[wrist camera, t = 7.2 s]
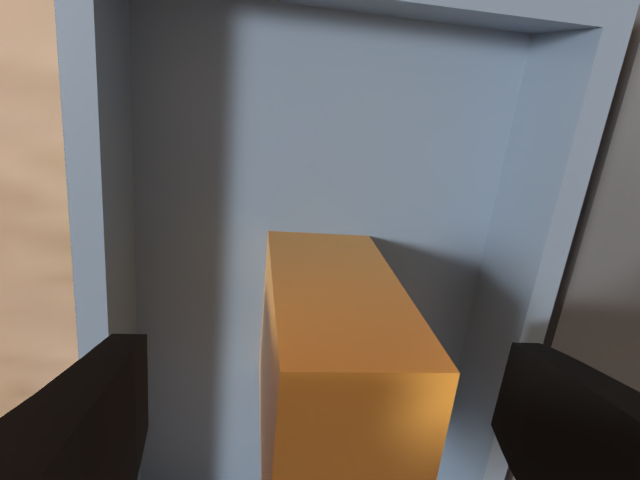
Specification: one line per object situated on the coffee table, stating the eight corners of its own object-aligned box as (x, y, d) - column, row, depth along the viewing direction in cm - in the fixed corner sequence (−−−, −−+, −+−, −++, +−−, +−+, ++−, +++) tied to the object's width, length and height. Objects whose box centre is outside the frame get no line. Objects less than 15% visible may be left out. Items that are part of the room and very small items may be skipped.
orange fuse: (351, 368, 14) (415, 572, 8) (259, 367, 14) (262, 581, 8) (369, 235, 13) (460, 373, 7) (267, 230, 12) (280, 371, 7)
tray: (437, 497, 17) (474, 584, 14) (124, 506, 15) (95, 605, 13) (550, 10, 12) (641, -5, 9) (103, -49, 10) (48, -89, 8)
